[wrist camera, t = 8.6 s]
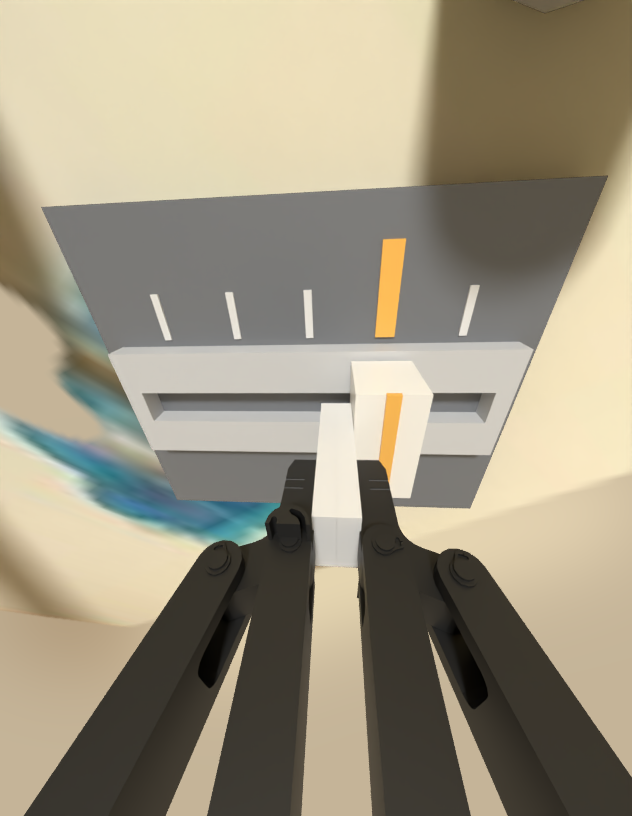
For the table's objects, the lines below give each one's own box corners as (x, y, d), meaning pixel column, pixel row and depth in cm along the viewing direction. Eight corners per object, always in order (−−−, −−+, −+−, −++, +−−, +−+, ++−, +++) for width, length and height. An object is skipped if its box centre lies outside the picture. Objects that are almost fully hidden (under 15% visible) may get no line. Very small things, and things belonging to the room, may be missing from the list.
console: (185, 486, 24) (169, 511, 22) (69, 210, 13) (14, 204, 11) (462, 493, 22) (476, 521, 20) (578, 182, 12) (637, 168, 9)
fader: (347, 439, 18) (350, 499, 14) (350, 351, 15) (355, 395, 10) (392, 439, 18) (410, 501, 13) (406, 350, 14) (435, 395, 10)
